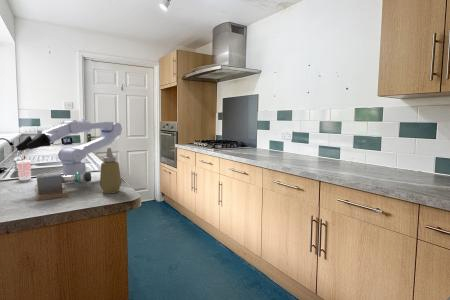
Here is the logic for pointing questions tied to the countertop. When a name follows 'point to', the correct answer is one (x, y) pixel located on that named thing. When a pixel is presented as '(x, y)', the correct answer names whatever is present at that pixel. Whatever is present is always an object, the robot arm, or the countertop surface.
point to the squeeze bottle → (110, 174)
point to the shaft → (77, 178)
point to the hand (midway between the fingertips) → (23, 147)
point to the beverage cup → (24, 169)
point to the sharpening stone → (50, 186)
